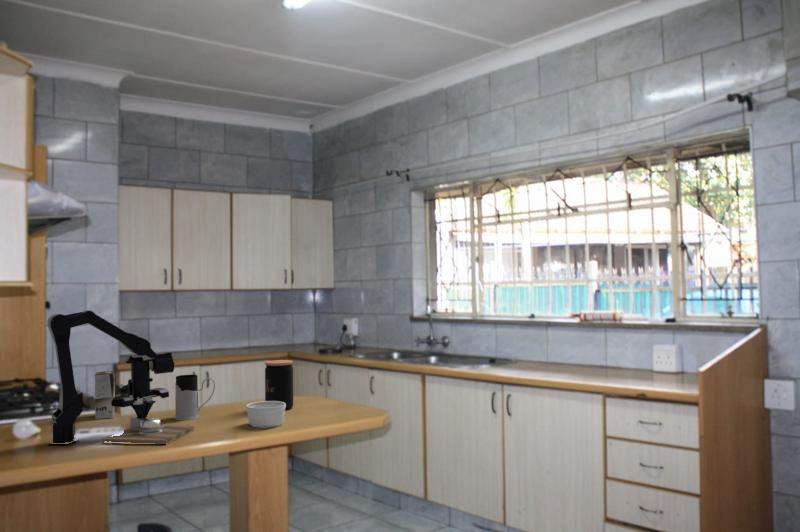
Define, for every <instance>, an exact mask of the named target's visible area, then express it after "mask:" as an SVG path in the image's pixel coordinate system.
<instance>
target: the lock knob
mask: <svg viewBox="0 0 800 532" xmlns="http://www.w3.org/2000/svg"><path fill="white" fill-rule="evenodd" d="M161 425H162V423H161V418H159V417H153V418H152V417H150V418H146V419H145V418H139V417H137V416H131V417H129V418H128V428H131V427H133V428H139V429H140V431H141V432H143V433H151V432H157V431H160V430H161Z"/></svg>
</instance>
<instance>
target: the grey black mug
mask: <svg viewBox="0 0 800 532" xmlns="http://www.w3.org/2000/svg"><path fill="white" fill-rule="evenodd" d="M198 380H199V379H198V375H197V374H181V375H177V376H175V388H174V389H175V391H174V392H175V393H174V394H175V396H174V397H175V398H174V399H175V414H174V415H175V416H174V418H173V419H174V420H175V419H176V420H175V421H192V420H191V419H193V420H197V419H196V418H198V419H200V415H199V413H200V409H201V408H202V407H204V406H205V405H206V404H207V403H208V402H209V401H210V400H211V399H212V397H213V395H214V393H215V387H216V385H215V384H216V383H215V381H214V379H213V378H210V377H208V378H204V380H203V381H202V383H201V389H198V387H199V386H198V383H199V382H198ZM207 380H211V381H212V382H213V389H212V392H211V394H210V396H209V398H208V399H207V400H205V402H204V403H202V404H201V405H200V407H199V392H201V391H203V389H204V383H205V382H206V381H207Z"/></svg>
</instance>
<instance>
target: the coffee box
mask: <svg viewBox="0 0 800 532" xmlns="http://www.w3.org/2000/svg"><path fill="white" fill-rule="evenodd" d="M115 378H116V376H115V370H108V371H106V370H103V371H96V372H95V374H94V419H95V420H103V419H114V416H115V409H116V407H115V406H112V399H113V398H114V397H116V394H115V385H116V384H115V382H116V381H115V380H116V379H115Z"/></svg>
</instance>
